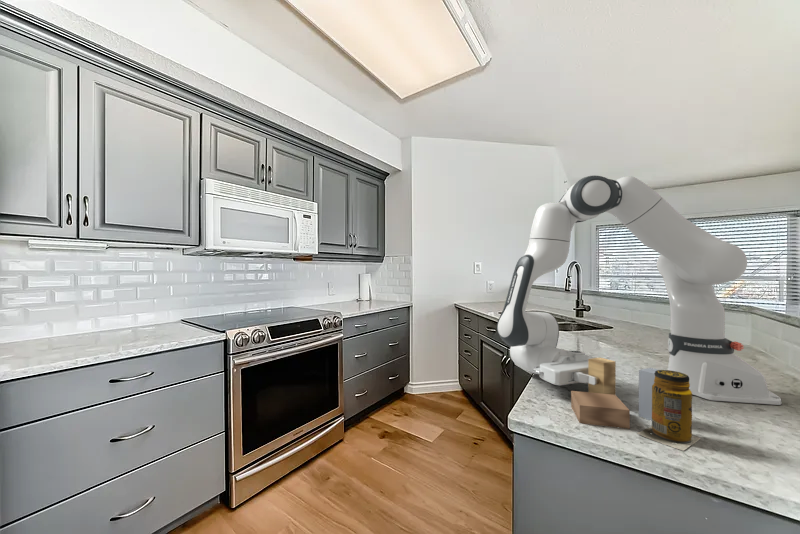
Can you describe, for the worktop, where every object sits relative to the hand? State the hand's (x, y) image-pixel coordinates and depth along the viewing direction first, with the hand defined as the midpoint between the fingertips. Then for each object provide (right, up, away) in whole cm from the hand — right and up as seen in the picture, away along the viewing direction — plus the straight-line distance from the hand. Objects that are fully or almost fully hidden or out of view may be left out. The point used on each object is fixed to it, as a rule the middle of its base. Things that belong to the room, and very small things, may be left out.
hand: (605, 379), depth 82 cm
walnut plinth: (-6, -6, -8) cm, 11 cm away
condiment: (+2, -6, -17) cm, 18 cm away
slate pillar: (+6, -6, -8) cm, 11 cm away
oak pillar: (0, -6, +1) cm, 6 cm away
